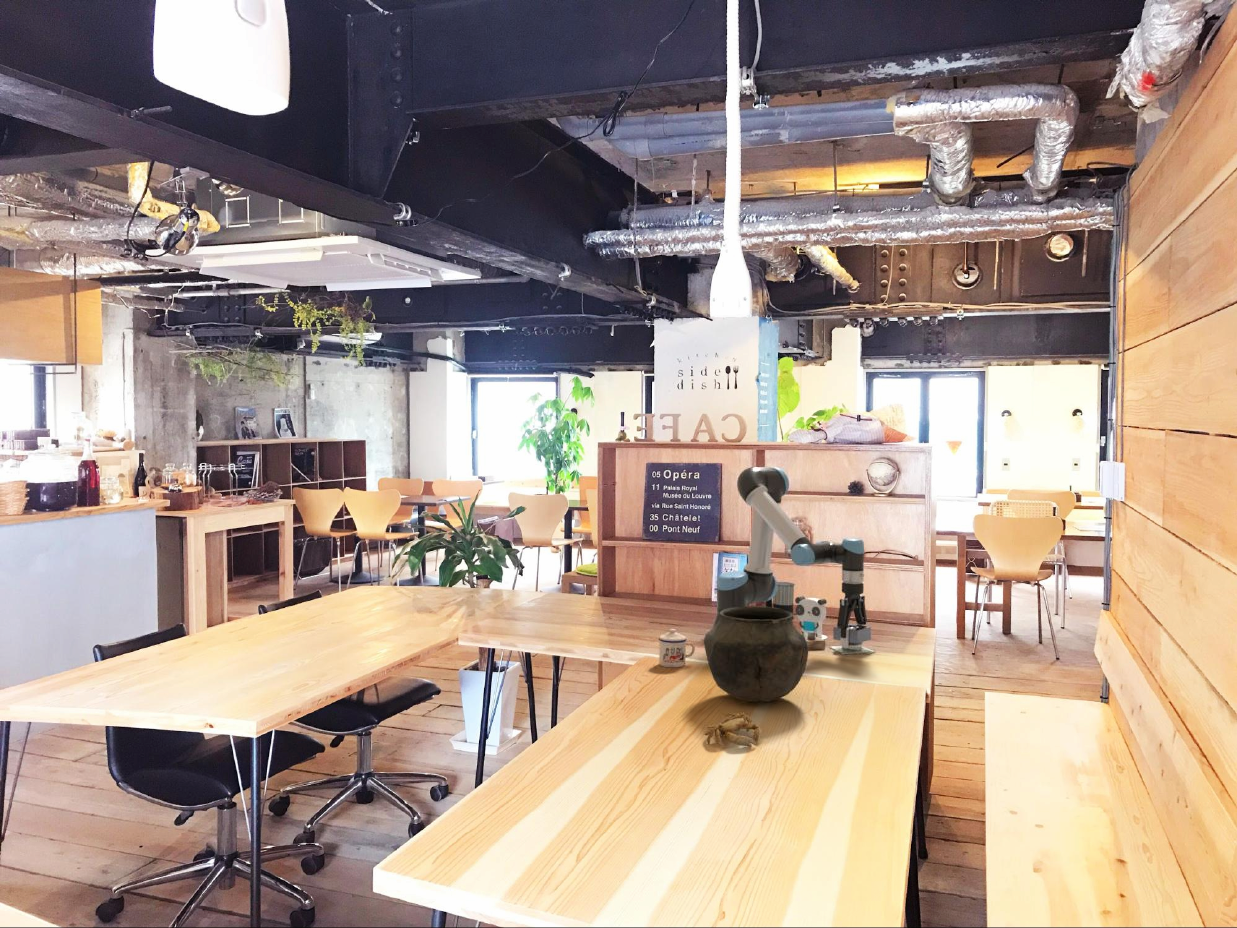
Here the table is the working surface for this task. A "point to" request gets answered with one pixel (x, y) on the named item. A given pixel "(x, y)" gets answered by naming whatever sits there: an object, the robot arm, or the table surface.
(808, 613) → the panda figurine
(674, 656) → the teacup with lid
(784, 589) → the milk frother
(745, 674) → the pot
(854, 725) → the table surface
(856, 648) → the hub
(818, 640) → the stand
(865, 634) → the grey square block
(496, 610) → the table surface
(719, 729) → the crab model
